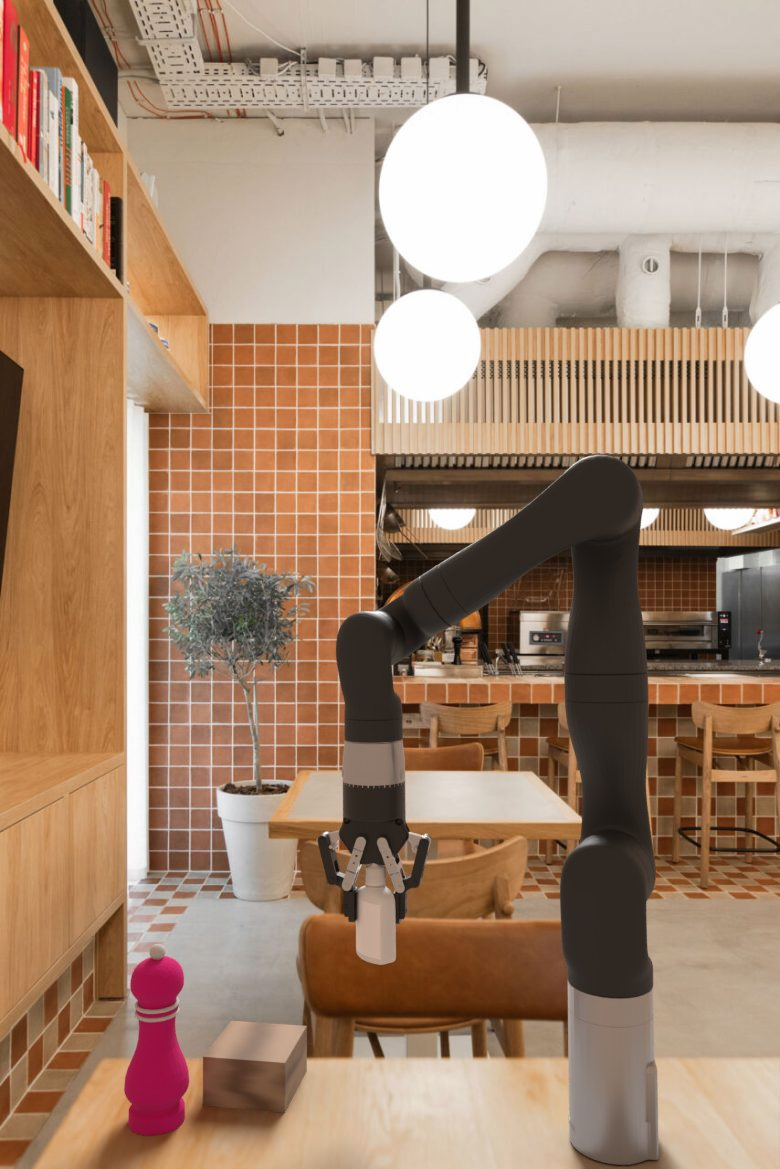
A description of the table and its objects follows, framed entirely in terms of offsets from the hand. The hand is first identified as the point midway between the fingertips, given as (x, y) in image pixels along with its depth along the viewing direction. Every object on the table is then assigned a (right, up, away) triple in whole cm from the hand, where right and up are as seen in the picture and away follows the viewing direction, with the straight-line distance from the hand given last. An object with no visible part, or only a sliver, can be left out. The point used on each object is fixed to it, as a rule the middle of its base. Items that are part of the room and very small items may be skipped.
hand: (375, 920), depth 111 cm
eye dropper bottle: (0, -4, -1) cm, 4 cm away
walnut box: (-15, -22, +3) cm, 26 cm away
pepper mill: (-25, -21, -5) cm, 33 cm away
